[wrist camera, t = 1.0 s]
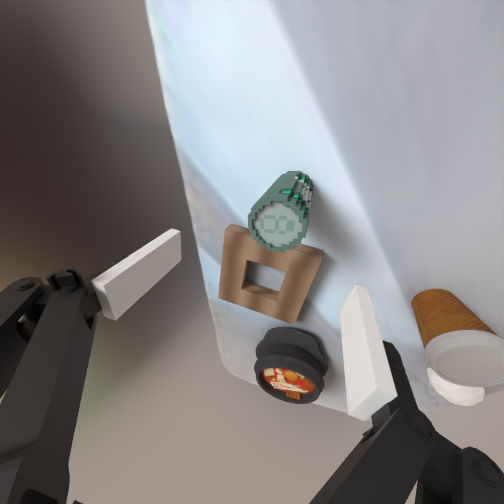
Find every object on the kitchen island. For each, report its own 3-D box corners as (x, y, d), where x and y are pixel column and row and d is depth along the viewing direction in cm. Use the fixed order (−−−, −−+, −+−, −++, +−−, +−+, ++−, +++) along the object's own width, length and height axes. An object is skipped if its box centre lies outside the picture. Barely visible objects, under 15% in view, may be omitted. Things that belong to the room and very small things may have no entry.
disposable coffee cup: (482, 306, 34) (547, 378, 24) (423, 328, 39) (456, 395, 30) (444, 271, 33) (496, 331, 23) (388, 299, 38) (411, 357, 28)
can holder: (322, 250, 37) (322, 258, 35) (295, 314, 47) (293, 324, 45) (231, 223, 40) (225, 229, 38) (223, 289, 50) (218, 298, 47)
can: (310, 209, 34) (303, 254, 22) (274, 207, 36) (249, 248, 24) (314, 171, 31) (309, 198, 19) (275, 171, 33) (246, 196, 20)
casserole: (321, 388, 59) (321, 423, 52) (258, 371, 64) (251, 401, 57) (334, 330, 46) (337, 365, 39) (255, 314, 51) (245, 343, 44)
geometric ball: (435, 356, 45) (430, 395, 43) (426, 345, 41) (420, 388, 38) (488, 372, 39) (485, 419, 36) (483, 362, 35) (480, 413, 32)
